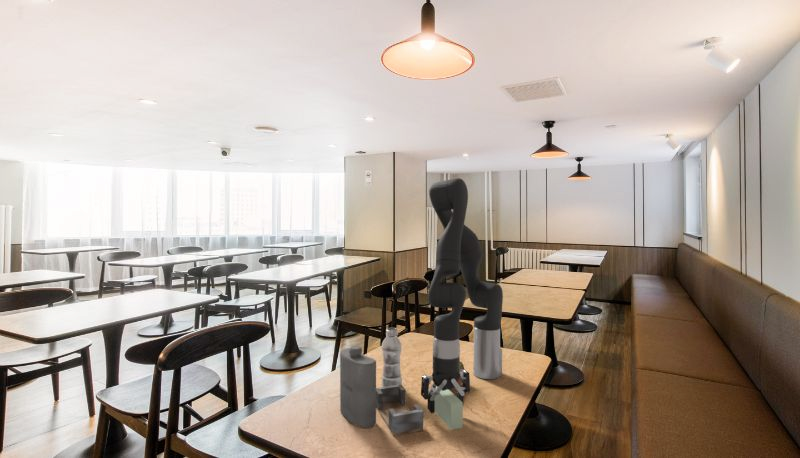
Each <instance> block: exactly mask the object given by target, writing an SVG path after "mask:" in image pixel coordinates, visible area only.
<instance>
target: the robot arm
mask: <svg viewBox="0 0 800 458" xmlns="http://www.w3.org/2000/svg"><path fill="white" fill-rule="evenodd" d="M428 189H429V190H428V195H429V200H430V203H431V205H432V207H433V209H434V212H435V214H436V216H437V217H438V220H439V221H440V223H441V225H442V227H443V229H444V230H443V232H442V234H441V235H440V237H439V239H438V241H437V245H436V250H435V251H436V254H435V268H434V274H433V278H432V280H431V282H430V286H429V288H428V292H427V300H428V303H429V304H430V306H431V307H433V308H442V309H443V308H444V309H452V310H451V311H450V312H449V313H446V314H445V313H444V314H440V315H439V314H438V315H437V316H436V317H435V318H434V320H433V321H434V322H433V323H434V324H433V342H432V375H427V374H423V375H421V386H420V387H421V388H420V396H421V397H423V399H424V400H425V401H426V400H427V410H428V412H429V413H431V414H436V413H435V401H434V399H435V397H436V395H438V394H439V393H440V391H441V390H442V391H444V390H447V389H449V390H451V389H452V388H455V391H456V395H455V396H456V397H457V398H458V399H460V400H461V401H462V402H463V405H464V399H465V397H464V396H465V394H469V393H470V392H471V383H470V382H471V381H470V380H471V379H470V378H471V377H470V372H469V371H467V370H466V369H465V368H464V369H463V370H462V371H461V372H459V369H460V362H461V361H460V360H461V359H460V358H461V356H460V354H461V345H460V320H461V314H462V311H463V308H464V306H465V302H466V299H467V298H466V297H467V295H468V298H469V301H470V302H471V304H472V306H475V307H477V308H482V309H487V310H486V314H484V315H480V316H476V317H475V318H474V319H473V375H474V376H475V377H476V378H479V379H484V380H496V379H498V378H500V377H501V376H503V349H502V348H501V322H502V316H503V301H504V300H503V298H504V297H503V296H504V294H503V289H502V286H501V285H500V284H498V283H494V282H488V281H487V282H486V281H483V280H481V278H480V275H479V271H478V270H479V269H480V265H481V264H482V260H483V256H484V255H483V254H484V252H483V249H482V246H481V243H480V240H479V238H478V236H477V235H476V233H475V232H474V231H473V230H472V229H471V228H469V227H468V226H467V225H465V220H466V214H467V209H468V202H469V201H468V199H469V190H468V187H467V184H466V182H465V180H463V179H462V178H452V179H451V178H450V179H446V180H442V181H437V182H433V183H432V184H430V185H429V188H428ZM460 272H461V274H462V277H463V280H464V284H462V283H460V282H445V281H444V282H442V281H443V280H444V279H446V278H447V277H448V278H449V277H453V276H456V275H459V274H460ZM464 285H465V286H464ZM465 287H466V288H465ZM460 376H461V378H462V384H461V385H462V387H461V385H460V386H459V384H458V383H457V382H458V380H459V378H460ZM431 382H432V384H431ZM430 385H431V386H430ZM436 386H437V388H436Z"/></svg>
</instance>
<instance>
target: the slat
mask: <svg viewBox="0 0 800 458" xmlns="http://www.w3.org/2000/svg"><path fill="white" fill-rule="evenodd" d="M436 388H437V386H436ZM434 401H435V413H434V414H436V415H437V416H438V417H439V418H440V419H441V421H442V422H443V423H444V424H445V425H446V426H447V427H448V429H449V430H450V431H453V430H458V429H462V428H463V427H464V425H463V422H464V420H463V418H464V417H463V416H464V415H463V414H464V413H463V412H464V411H463V409H464V404H463V402H462V401H461V400H460V399H458V398H457V397H456V395H455V394H454V393H453V391H452V392H451V391H450V390H449V389H447V390H444V391H442V390H441V391H440V393H439V394H438V395H436V397H435V399H434Z"/></svg>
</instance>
